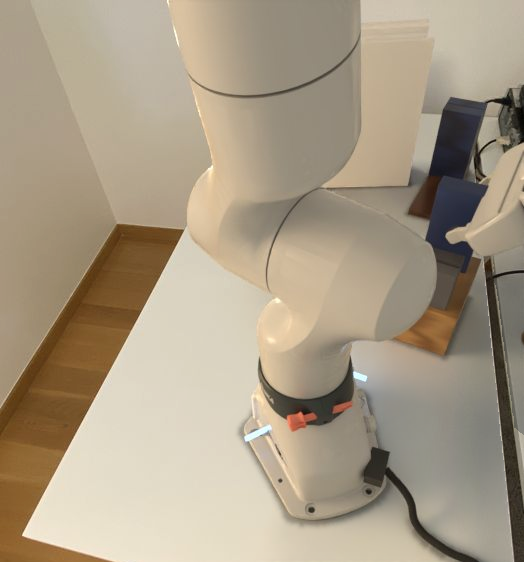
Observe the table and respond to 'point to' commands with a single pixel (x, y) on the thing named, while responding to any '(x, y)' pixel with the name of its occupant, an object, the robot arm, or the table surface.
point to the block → (388, 103)
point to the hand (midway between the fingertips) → (459, 216)
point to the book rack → (450, 149)
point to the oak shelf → (442, 316)
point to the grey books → (445, 277)
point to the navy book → (454, 214)
